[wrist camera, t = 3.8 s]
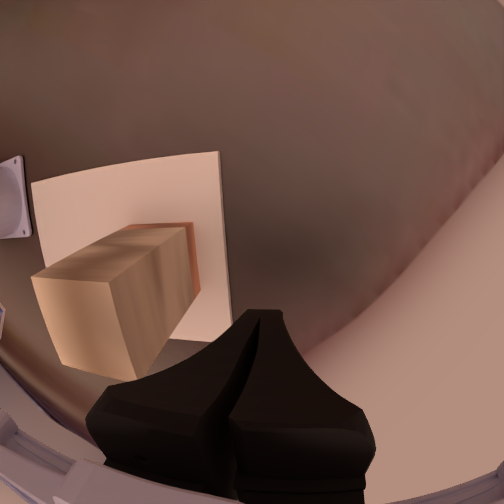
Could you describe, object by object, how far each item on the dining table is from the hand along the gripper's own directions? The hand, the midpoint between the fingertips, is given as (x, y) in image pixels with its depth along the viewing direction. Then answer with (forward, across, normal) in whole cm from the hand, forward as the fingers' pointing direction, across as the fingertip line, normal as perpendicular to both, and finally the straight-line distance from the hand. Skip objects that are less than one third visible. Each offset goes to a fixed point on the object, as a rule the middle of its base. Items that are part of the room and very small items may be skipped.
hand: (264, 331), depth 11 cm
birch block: (+9, +8, 0) cm, 12 cm away
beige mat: (+9, +12, 0) cm, 16 cm away
